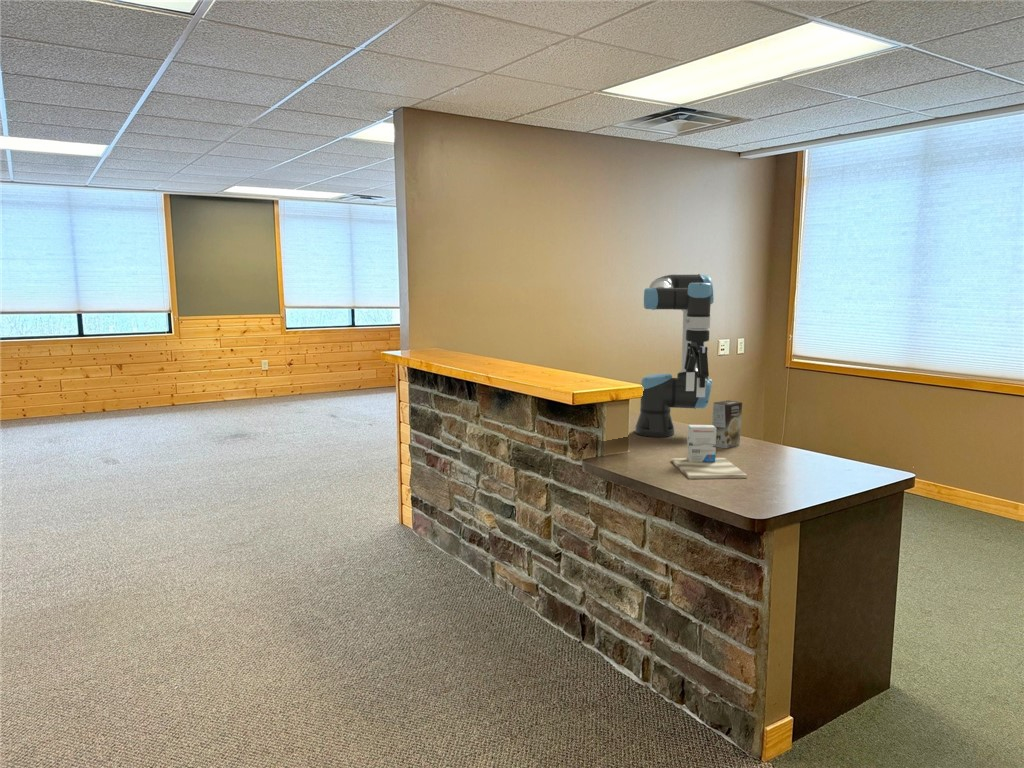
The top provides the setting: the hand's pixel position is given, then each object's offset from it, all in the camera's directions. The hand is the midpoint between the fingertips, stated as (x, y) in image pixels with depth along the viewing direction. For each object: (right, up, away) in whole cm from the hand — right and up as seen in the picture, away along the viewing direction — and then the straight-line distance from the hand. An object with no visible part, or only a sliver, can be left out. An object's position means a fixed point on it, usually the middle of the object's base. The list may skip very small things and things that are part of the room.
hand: (695, 393), depth 233 cm
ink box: (0, -22, -6) cm, 23 cm away
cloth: (+1, -24, -12) cm, 27 cm away
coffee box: (+16, -19, +19) cm, 32 cm away
